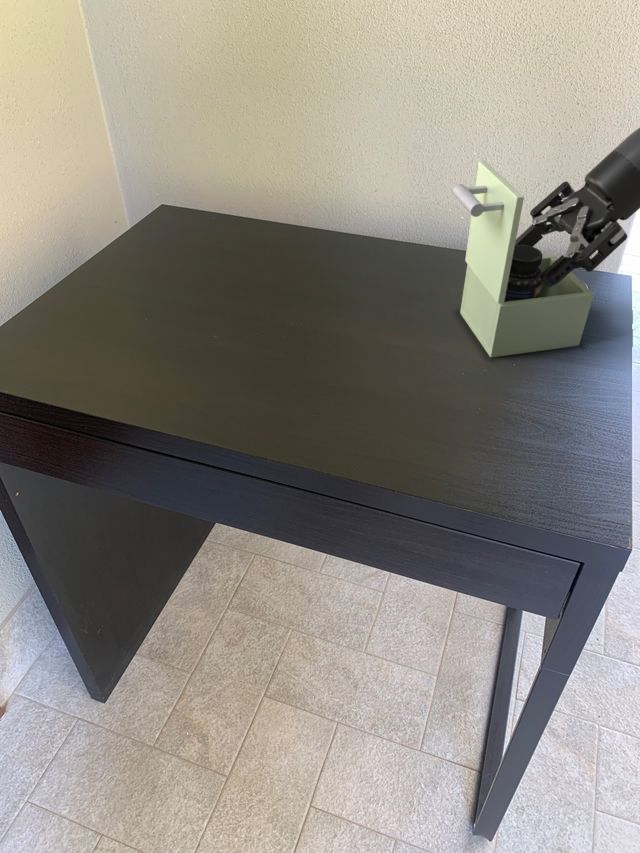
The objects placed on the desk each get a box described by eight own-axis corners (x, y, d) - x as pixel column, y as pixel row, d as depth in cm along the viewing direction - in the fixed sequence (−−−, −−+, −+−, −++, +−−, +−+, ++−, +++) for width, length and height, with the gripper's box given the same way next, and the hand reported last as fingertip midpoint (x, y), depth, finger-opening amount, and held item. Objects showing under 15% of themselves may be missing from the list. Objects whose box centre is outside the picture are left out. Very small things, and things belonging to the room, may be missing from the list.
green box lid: (485, 160, 85) (447, 164, 84) (524, 196, 76) (482, 201, 76) (470, 260, 94) (436, 264, 93) (504, 302, 85) (466, 307, 85)
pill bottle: (534, 339, 92) (552, 265, 85) (489, 337, 93) (502, 263, 85) (528, 314, 97) (544, 242, 90) (484, 313, 97) (497, 241, 90)
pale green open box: (541, 302, 101) (553, 254, 96) (579, 345, 93) (594, 294, 87) (460, 313, 99) (467, 263, 94) (490, 357, 91) (500, 306, 85)
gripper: (591, 131, 87) (492, 225, 92) (655, 173, 76) (539, 276, 82) (618, 169, 91) (521, 257, 97) (682, 214, 80) (569, 309, 86)
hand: (529, 266), depth 89 cm, fingers open, 8 cm apart
